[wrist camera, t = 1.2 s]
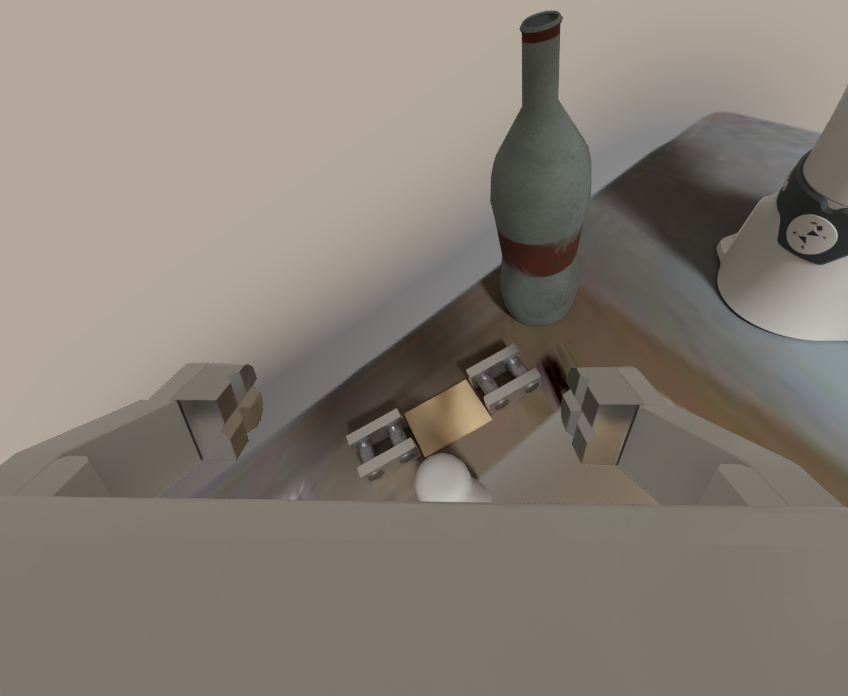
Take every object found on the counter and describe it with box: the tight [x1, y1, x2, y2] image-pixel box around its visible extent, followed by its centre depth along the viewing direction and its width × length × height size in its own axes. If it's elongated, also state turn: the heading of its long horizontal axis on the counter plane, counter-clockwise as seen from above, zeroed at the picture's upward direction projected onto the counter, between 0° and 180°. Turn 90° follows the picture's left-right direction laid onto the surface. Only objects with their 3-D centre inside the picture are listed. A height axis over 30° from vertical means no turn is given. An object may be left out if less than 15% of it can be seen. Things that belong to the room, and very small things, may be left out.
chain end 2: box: [466, 343, 541, 416], centre depth 43 cm, size 6×5×3 cm
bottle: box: [490, 11, 591, 326], centre depth 37 cm, size 9×9×30 cm
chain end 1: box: [346, 408, 422, 484], centre depth 42 cm, size 6×5×3 cm
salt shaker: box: [414, 453, 492, 502], centre depth 32 cm, size 6×6×13 cm
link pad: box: [404, 380, 492, 458], centre depth 44 cm, size 9×6×1 cm
